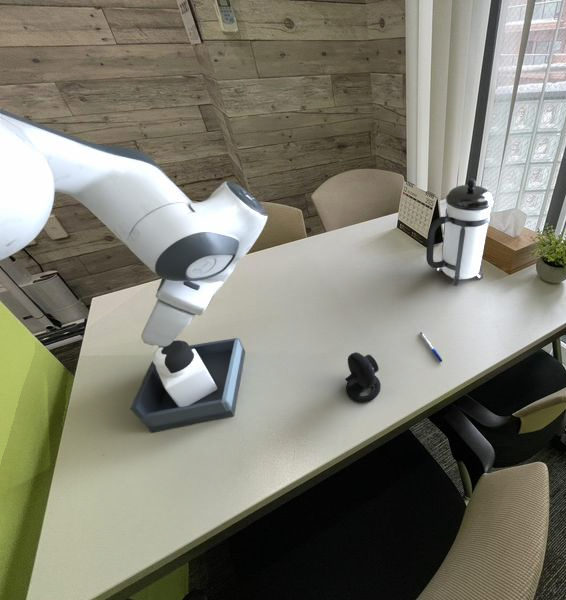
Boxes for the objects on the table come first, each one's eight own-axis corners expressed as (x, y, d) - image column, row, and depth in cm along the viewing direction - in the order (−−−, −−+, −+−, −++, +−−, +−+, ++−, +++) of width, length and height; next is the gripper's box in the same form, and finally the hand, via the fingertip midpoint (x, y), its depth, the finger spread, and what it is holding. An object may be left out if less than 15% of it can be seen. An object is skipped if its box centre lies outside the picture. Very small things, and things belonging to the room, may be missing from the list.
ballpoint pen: (443, 361, 75) (443, 358, 75) (440, 363, 75) (440, 360, 74) (421, 333, 83) (421, 330, 82) (418, 334, 82) (418, 331, 82)
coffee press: (441, 257, 112) (449, 167, 93) (487, 267, 107) (505, 174, 88) (424, 284, 100) (429, 186, 81) (475, 296, 95) (493, 196, 76)
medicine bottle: (206, 369, 71) (184, 330, 64) (218, 389, 67) (195, 350, 60) (170, 388, 67) (142, 348, 60) (181, 410, 63) (151, 371, 56)
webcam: (388, 390, 69) (387, 359, 63) (360, 411, 65) (355, 380, 59) (366, 369, 74) (363, 337, 68) (338, 387, 70) (332, 355, 64)
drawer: (245, 352, 78) (234, 327, 73) (234, 416, 64) (220, 392, 60) (177, 363, 75) (162, 339, 70) (151, 433, 62) (129, 409, 57)
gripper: (193, 230, 60) (158, 281, 64) (155, 297, 44) (113, 358, 48) (226, 249, 63) (192, 296, 67) (203, 316, 48) (160, 372, 52)
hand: (158, 322), depth 58 cm, fingers open, 8 cm apart
